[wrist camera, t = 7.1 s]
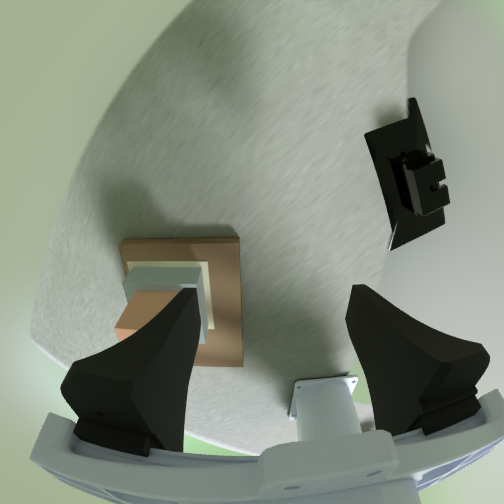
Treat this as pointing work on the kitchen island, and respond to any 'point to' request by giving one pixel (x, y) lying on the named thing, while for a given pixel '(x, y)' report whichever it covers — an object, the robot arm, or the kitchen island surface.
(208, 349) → the build board
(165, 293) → the top block
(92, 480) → the robot arm
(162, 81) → the kitchen island surface
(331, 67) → the kitchen island surface
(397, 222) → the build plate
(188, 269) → the base block
